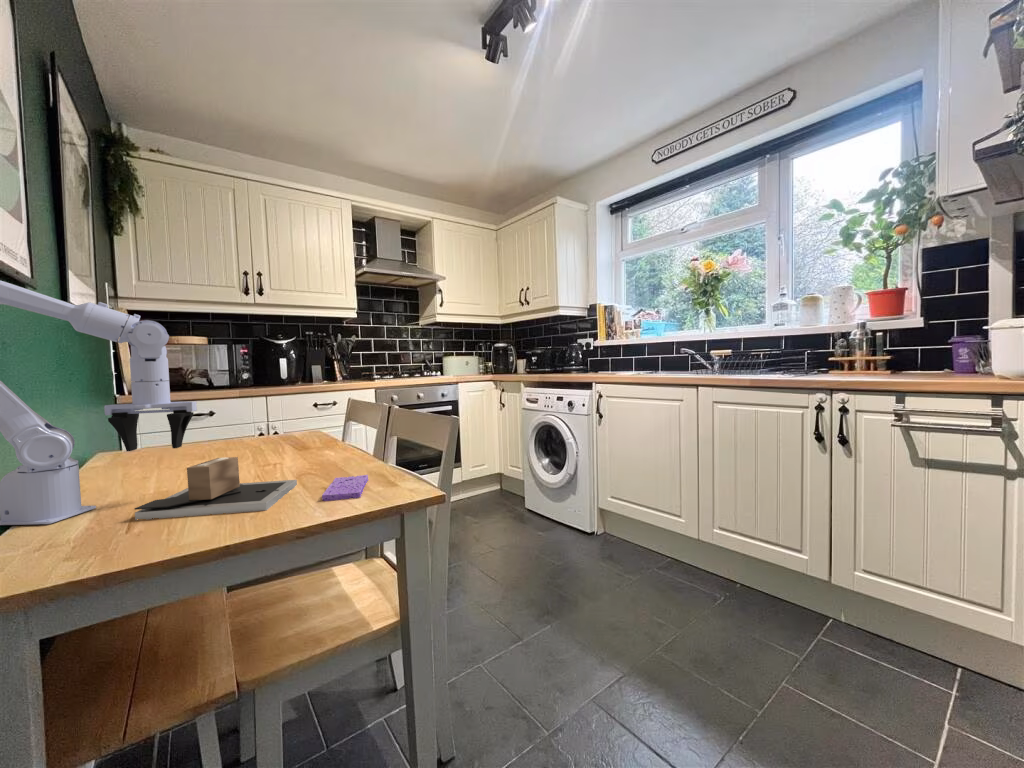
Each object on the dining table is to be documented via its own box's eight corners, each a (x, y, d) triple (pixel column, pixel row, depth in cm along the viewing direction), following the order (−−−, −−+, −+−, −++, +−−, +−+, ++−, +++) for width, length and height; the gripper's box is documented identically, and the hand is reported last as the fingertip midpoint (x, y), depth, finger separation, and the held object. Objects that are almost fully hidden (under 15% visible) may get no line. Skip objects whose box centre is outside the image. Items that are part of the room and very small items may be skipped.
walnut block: (219, 487, 82) (217, 457, 82) (239, 486, 82) (237, 456, 82) (189, 500, 74) (186, 466, 74) (211, 499, 74) (208, 466, 74)
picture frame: (135, 524, 70) (266, 514, 73) (134, 508, 70) (266, 498, 73) (190, 496, 85) (297, 489, 89) (190, 483, 85) (296, 476, 89)
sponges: (368, 482, 91) (368, 474, 91) (360, 500, 79) (360, 491, 79) (335, 485, 90) (334, 477, 90) (321, 504, 78) (321, 494, 78)
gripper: (90, 383, 75) (95, 455, 76) (182, 380, 79) (186, 450, 80) (116, 382, 82) (121, 448, 83) (200, 379, 86) (203, 443, 87)
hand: (154, 448), depth 82 cm, fingers open, 7 cm apart
